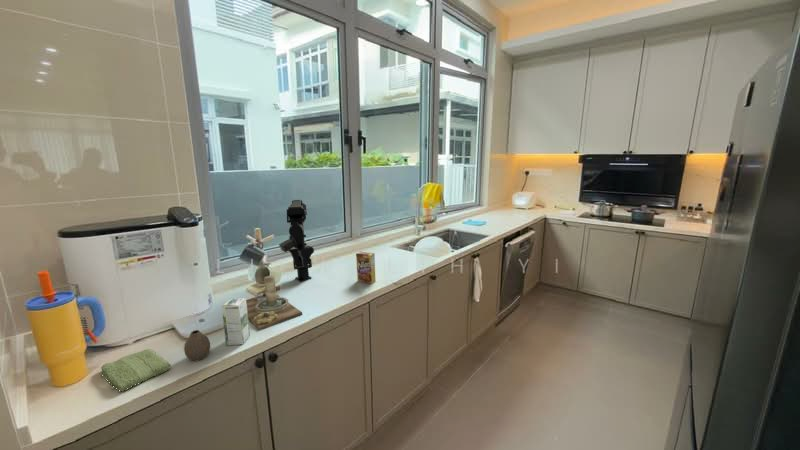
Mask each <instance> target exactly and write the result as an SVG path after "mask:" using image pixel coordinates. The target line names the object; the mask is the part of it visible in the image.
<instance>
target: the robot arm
mask: <svg viewBox="0 0 800 450" xmlns="http://www.w3.org/2000/svg"><path fill="white" fill-rule="evenodd" d="M307 211H308V210H307V205H306V203H304V202H303V200H302V199H293V200H292V201H291V204H290V205H289V206H288V207H287V208H286V223H287V224H290V226H289V229H288V232H289V236H288V239H286V240H284V241H282V242H281V243H279V244H278V246H279V248H280V250H281V252H284V253H287V252H289V253H290V254H291V257H292V263H293V264H292V265H293V270H294V271H295V270H296V272H297V276H296V277H294V278H295V280H297V281H300V282H303V281H307V280H309V279H312V276H310V273H309V269H311V268H312V267H313V265H312V264H313V263H312V258H311V256H312V255H313V254H314V253H315V248H314V247H313V246H310V245H307V244H308V243H307V242H305V238H306V237H307V234H305V229H304V228H305V227H304V223H305V221H306V220H307V216H308V212H307Z"/></svg>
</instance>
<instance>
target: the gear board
mask: <svg viewBox="0 0 800 450" xmlns="http://www.w3.org/2000/svg"><path fill="white" fill-rule="evenodd" d="M276 296H277V300H279V301H280V300H281V301H282V303H283V304H282V306H280V307H277V308H274V309H262V307H263V303H266V302H267V300H266V292H261V293H259V294H257V295H255V296H254V297H252V298H248V299H247V298H246V304H247V313H248V322H250V323H251V324H252V325H253V326H254V327H255V328H256V329H257V330H258V331H261V330H264V329H266V328H269V327H271V326H275V325H277V324H280V323H282V322H285V321H288V320H291V319H294V318H297V317H300V316H302V315H303V312H302V310H300V309H298V308H297V307H295V306H294V305H293V304H292V303H290V302H289V299H287V297H283V296H279V295H278V294H277V293H276Z"/></svg>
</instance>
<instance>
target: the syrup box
mask: <svg viewBox="0 0 800 450" xmlns="http://www.w3.org/2000/svg"><path fill="white" fill-rule="evenodd" d="M246 300H247V298H241V297H240V298H239V297H238V298H236V297H235V298H231V299H230V298H229V299H228V300H227V301H226V302H225V303H224V304H222V306H221V312H222V321H223V330H224V337H225V338H224V339H225V345H226V346H239V345H240V344H241V345H244V344H245V343H246V341H247V340H248V339H249V337H250V327H249V325H250V324H249V320H248V313H247V304H246Z"/></svg>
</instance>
